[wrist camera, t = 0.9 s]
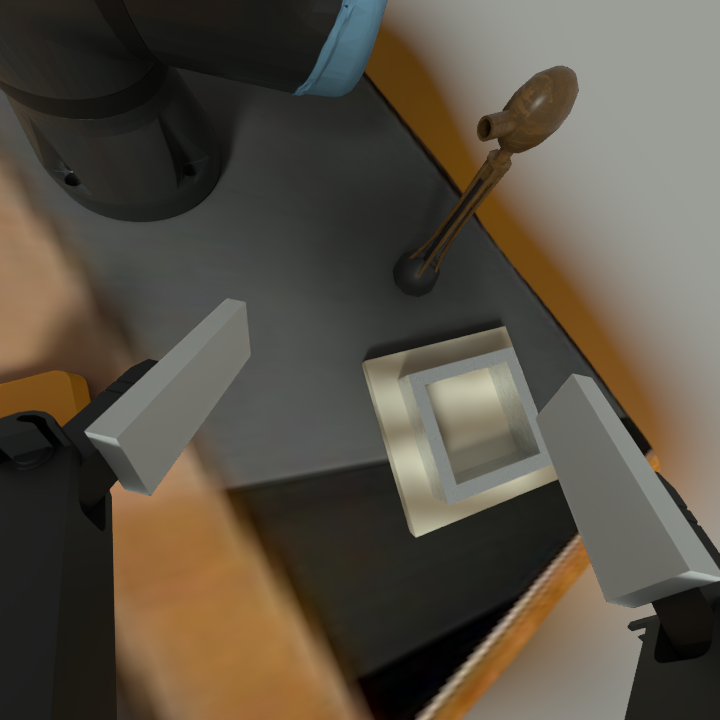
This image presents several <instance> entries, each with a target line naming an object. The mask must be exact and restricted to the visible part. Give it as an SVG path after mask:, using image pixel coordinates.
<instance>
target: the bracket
mask: <svg viewBox="0 0 720 720" xmlns="http://www.w3.org/2000/svg"><path fill="white" fill-rule="evenodd" d="M90 402H91V400H90V396H89V391H88V386H87V382H86V380H85V379H84V378H83V377H82V376H80V375H76V374H72V373H68V372H64V371H59V370H54V371H49V372H45V373H41V374H37V375H34V376H30V377H26V378H22V379H18V380H14V381H10V382H6V383H2V384H0V418H2V417H5V416H8V415H11V414H15V413H18V412H24V411H31V410H36V411H44V412H47V413H48V414H50V415H52V416H53V417H54V418H55V420H56V421H57V422H58V424H59V425H60V426H61V427H62V426H64V425H65V424H66V423H67V422H68V421H69V420H71V419H72V418H73V417H74V416H75V415H76V414H78V413H79V412H80V411H81V410H82V409H83V408H85V407H86V406H87V405H88V404H89V403H90Z"/></svg>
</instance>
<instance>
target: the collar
mask: <svg viewBox="0 0 720 720" xmlns="http://www.w3.org/2000/svg"><path fill="white" fill-rule="evenodd" d="M485 368H488V371H489V373H490V376H491V379H492V382H493V385H494V387H495V390H496V393H497V396H498V398H499V401H500V404H501V407H502V410H503V412H504V415H505V418H506V421H507V423H508V426H509V429H510V432H511V435H512V437H513V440H514V443H515V446H516V448H517V451H516V452H513V453H510V454H507V455H505V456H502V457H499V458H497V459H494V460H491V461H488V462H486V463H483V464H480V465H478V466H475V467H472V468H470V469H467V470H464V471H461V472H459V473H456V474H453V472H452V469H451V466H450V462H449V459H448V456H447V453H446V450H445V447H444V444H443V441H442V438H441V434H440V431H439V428H438V425H437V422H436V419H435V416H434V413H433V409H432V406H431V403H430V400H429V397H428V394H427V391H426V388H425V385H429V384H432V383H436V382H440V381H443V380H447V379H450V378H454V377H457V376H461V375H464V374H468V373H471V372H475V371H478V370H482V369H485ZM397 381H398V385H399V388H400V391H401V394H402V398H403V401H404V404H405V407H406V411H407V414H408V417H409V420H410V424H411V427H412V430H413V433H414V437H415V440H416V443H417V446H418V450H419V453H420V456H421V460H422V463H423V466H424V469H425V473H426V476H427V479H428V482H429V486H430V489H431V492H432V495H433V497H434V498H436V499H438V500H439V501H441V502H443V503H445V504H447V505H451V504H453V503H456V502H458V501H461V500H463V499H466V498H468V497H471V496H474V495H476V494H479V493H481V492H484V491H486V490H489V489H491V488H494V487H496V486H499V485H501V484H504V483H506V482H509V481H511V480H514V479H517V478H519V477H522V476H524V475H527V474H529V473H532V472H534V471H537V470H539V469H542V468H544V467H547V466H549V465H552V464H553V463H552V461H551V458H550V455H549V453H548V450H547V448H546V445H545V443H544V440H543V437H542V435H541V432H540V430H539V427H538V424H537V422H536V419H535V418H536V417H537V416H538V412H537V410H536V407H535V404H534V402H533V399H532V396H531V394H530V391H529V388H528V386H527V383H526V380H525V378H524V375H523V373H522V370H521V367H520V365H519V362H518V359H517V357H516V354H515V351H514V349H513V347H509V348H506V349H502V350H498V351H495V352H491V353H487V354H484V355H480V356H476V357H472V358H469V359H465V360H461V361H458V362H454V363H450V364H446V365H443V366H439V367H435V368H432V369H428V370H424V371H420V372H417V373H413V374H409V375H407V376H405V377H403V378H401V379H399V380H397Z"/></svg>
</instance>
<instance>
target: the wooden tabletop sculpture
mask: <svg viewBox="0 0 720 720" xmlns="http://www.w3.org/2000/svg"><path fill="white" fill-rule="evenodd" d="M578 91H579V89H578V83H577V77H576V74H575V72H574V71H573V70H572V69H570V68H568V67H565V66H555V67H553V68H550V69H547V70H545V71H542V72H539V73H537V74H535V75H534V76H533V77H532V78H531V79H530V80H528V81H527V82H526V83H525V84H524V85H523V86H522V87H520V88H519V89H518V91H516V92H515V93H514V95H513V96H512V97H511V99H510V100H509V102H508V103H507V105H506V106H505V107H504V109H503V111H502V112H498V113H494V114H490V115H486V116H484V117H482V118H481V120H480V121H479V123H478V127H477V134H478V137H479V139H480V140H481V141H483V142H484V141H488V140H491V139H495V138H498V142H499V145H500V147H501V148H500V150H498V149H496V150H492V151H490V153H489V155H488V157H487V160H486V161H485V163H484V164H483V166H482V167H481V169H480V170H479V171H478V173H477V174H476V176H475V177H474V179H473V180H472V182H471V183H470V185H469V186H468V187H467V189H466V191H465V192H464V193H463V195H462V196H461V198H460V199H459V200H458V202H457V203H456V205H455V206H454V207H453V209H452V210H451V212H450V213H449V214H448V216H447V217H446V219H445V220H444V221H443V223H442V224H441V225H440V226H439V228H438V229H437V230H436V231H435V233H434V234H433V235H432V236H431V237H430V238H429V239H428V241H427V242H426V243H425V244H424V245H423V246H422V247H421V248H420V249H417V250H414V251H411V252H408V253H406V254H404V255H403V256H402V257H401V258H400V259H399V261H398V263H397V265H396V267H395V268H394V270H393V274H394V279H395V284H396V285H397V286H398V287H399V288H400V289H401V290H402V291H403V292H404V293H405V294H408V295H412V296H416V297H419V296H422V295H424V294H426V293H429V292H430V291H431V290H432V288H433V287H434V285H435V283H436V281H437V279H438V277H439V266H440V263H441V261H442V259H443V257H444V255H445V254H446V252H447V250H448V248H449V247H450V245H451V244H452V242H453V241H454V239H455V238H456V236H457V235H458V233H459V232H460V230H461V229H462V228H463V226H464V225H465V224H466V222H467V221H468V220H469V219H470V217H471V216H472V215H473V213H474V212H475V211H476V209H477V208H478V207H479V206H480V204H481V203H482V202H483V201H484V199H485V198H486V197H487V195H488V194H489V193H490V192H491V191H492V189H493V188H494V187H495V185H496V184H497V183H498V182H499V180H500V179H501V178H502V177H503V175H504V174H505V173H506V172H507V171H508V170H509V168H510V166H511V160H510V157H511V155H512V154H513V153H521V152H524V151H527V150H529V149H531V148H533V147H536V146H537V145H539V144H540V143H542V142H543V141H544V140H546V139H547V138H548V137H549V136H550V135H551V134H553V133H554V132H555V131H556V130H557V129H558V128H559V127H560V126H561V124H562V123H563V121H564V120H565V119H566V118H567V116H568V115H569V114H570V112H571V109H572V107H573V105H574V102H575V99H576V97H577V94H578ZM489 184H490V185H489ZM488 185H489V186H488ZM487 187H488V188H487ZM486 188H487V189H486ZM485 189H486V190H485ZM483 192H484V193H483ZM482 193H483V194H482ZM480 196H481V197H480ZM479 197H480V198H479ZM478 198H479V199H478ZM477 200H478V201H477ZM476 201H477V202H476ZM475 202H476V203H475ZM474 204H475V205H474ZM473 205H474V206H473ZM472 206H473V207H472ZM470 209H471V210H470ZM469 210H470V211H469ZM468 211H469V212H468ZM467 213H468V214H467ZM466 214H467V215H466ZM465 215H466V217H465ZM464 217H465V218H464ZM463 218H464V219H463ZM462 219H463V221H462ZM461 221H462V222H461ZM460 222H461V223H460ZM459 223H460V225H459ZM445 225H446V226H445ZM458 225H459V226H458ZM457 226H458V227H457ZM456 227H457V229H456V230H455V228H456ZM443 228H444V229H443ZM442 229H443V230H442ZM441 230H442V232H441V233H440V231H441ZM454 230H455V232H454V233H453V235H452V236H451V238H450V240H449V241H448V243H447V244H446V246H445V248H444V250H443V251H442V253H441V255H440V257H439V259H438V261H437V259H436V258H435V257H434V256H435V255H436V253H437V252H438V251H439V249H440V248H441V247H442V245H443V244H444V243H445V241H446V240H447V239H448V238H449V236H450V235H451V234H452V232H453V231H454ZM439 233H440V234H439ZM438 234H439V236H438V237H437V239H436V240H435V241H434V243H433V244H432V246H431V247H430V248H429V250H428V251H424V249H425V248H426V247H427V246H428V245H429V244H430V243H431V242H432V241H433V240H434V239H435V237H436V236H437V235H438Z"/></svg>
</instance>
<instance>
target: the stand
mask: <svg viewBox="0 0 720 720" xmlns="http://www.w3.org/2000/svg"><path fill="white" fill-rule="evenodd" d="M509 347H513V346H512V343H511V340H510V338H509V335H508V332H507V330H506V327H505V326H504V327H500V328H496V329H492V330H488V331H484V332H480V333H476V334H472V335H468V336H464V337H460V338H456V339H452V340H448V341H444V342H440V343H436V344H432V345H427V346H423V347H419V348H415V349H411V350H407V351H403V352H399V353H395V354H391V355H387V356H383V357H379V358H375V359H371V360H367V361H364V362H363V363H362V367H363V371H364V374H365V378H366V381H367V385H368V388H369V392H370V395H371V399H372V402H373V405H374V409H375V412H376V416H377V419H378V423H379V426H380V430H381V433H382V436H383V440H384V443H385V447H386V450H387V454H388V457H389V461H390V464H391V468H392V471H393V474H394V478H395V481H396V485H397V488H398V492H399V495H400V499H401V502H402V506H403V509H404V512H405V516H406V519H407V523H408V526H409V530H410V532H411V533H412V534H413V535H414V536H415V537H418V536H421V535H423V534H426V533H428V532H430V531H433V530H435V529H438V528H440V527H443V526H445V525H447V524H450V523H452V522H455V521H457V520H460V519H462V518H464V517H467V516H469V515H472V514H474V513H477V512H479V511H481V510H484V509H486V508H489V507H491V506H494V505H496V504H498V503H501V502H503V501H506V500H508V499H511V498H513V497H515V496H518V495H520V494H523V493H525V492H528V491H530V490H532V489H535V488H537V487H540V486H542V485H545V484H547V483H549V482H552V481H554V480H557V479H558V476H557V474H556V471H555V468H554V466H553V464H552V465H549V466H547V467H544V468H542V469H539V470H537V471H534V472H532V473H529V474H527V475H524V476H522V477H519V478H517V479H514V480H511V481H509V482H506V483H504V484H501V485H499V486H496V487H494V488H491V489H489V490H486V491H484V492H481V493H479V494H476V495H474V496H471V497H468V498H466V499H463V500H461V501H458V502H456V503H453V504H451V505H447V504H445V503H443V502H441V501H439V500H438V499H436V498H434V497H433V495H432V492H431V489H430V486H429V482H428V479H427V476H426V473H425V469H424V466H423V463H422V460H421V456H420V453H419V450H418V446H417V443H416V440H415V437H414V433H413V430H412V427H411V424H410V420H409V417H408V414H407V411H406V407H405V404H404V401H403V398H402V394H401V391H400V388H399V385H398V381H397V380H399V379H401V378H403V377H405V376H407V375H409V374H413V373H417V372H420V371H424V370H428V369H432V368H435V367H439V366H443V365H446V364H450V363H454V362H458V361H461V360H465V359H469V358H472V357H476V356H480V355H484V354H487V353H491V352H495V351H498V350H502V349H506V348H509ZM513 349H514V348H513ZM516 357H517V356H516ZM519 365H520V364H519ZM521 370H522V369H521ZM522 373H523V372H522ZM524 378H525V377H524ZM527 386H528V385H527ZM425 388H426V391H427V394H428V397H429V400H430V403H431V406H432V409H433V413H434V416H435V419H436V422H437V425H438V428H439V431H440V434H441V438H442V441H443V444H444V447H445V450H446V453H447V456H448V459H449V462H450V466H451V469H452V472H453V474H456V473H459V472H461V471H464V470H467V469H470V468H472V467H475V466H478V465H480V464H483V463H486V462H488V461H491V460H494V459H497V458H499V457H502V456H505V455H507V454H510V453H513V452H516V451H517V448H516V446H515V443H514V440H513V437H512V435H511V432H510V429H509V426H508V423H507V421H506V418H505V415H504V412H503V410H502V407H501V404H500V401H499V398H498V396H497V393H496V390H495V387H494V385H493V382H492V379H491V376H490V373H489V371H488V368H485V369H482V370H478V371H475V372H471V373H468V374H464V375H461V376H457V377H454V378H450V379H447V380H443V381H440V382H436V383H432V384H429V385H425ZM530 394H531V393H530ZM532 399H533V398H532ZM533 402H534V401H533ZM535 407H536V406H535ZM536 410H537V409H536ZM538 415H539V414H538Z"/></svg>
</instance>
